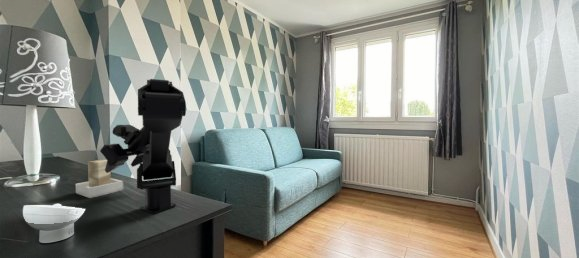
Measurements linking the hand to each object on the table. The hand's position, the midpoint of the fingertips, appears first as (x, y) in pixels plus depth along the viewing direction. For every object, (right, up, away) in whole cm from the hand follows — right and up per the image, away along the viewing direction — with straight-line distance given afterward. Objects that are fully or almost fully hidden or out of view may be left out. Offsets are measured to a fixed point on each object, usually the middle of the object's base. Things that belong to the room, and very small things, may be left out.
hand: (119, 168), depth 76 cm
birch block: (-8, -7, +2) cm, 11 cm away
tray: (-8, -8, +2) cm, 11 cm away
